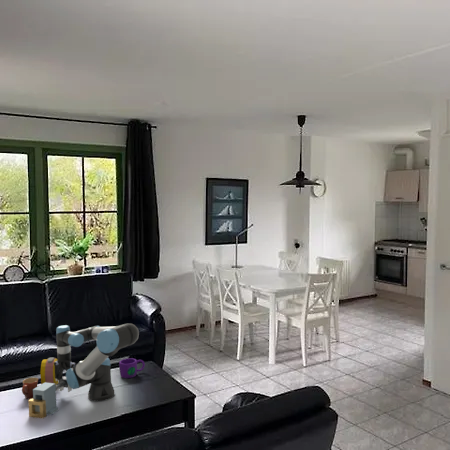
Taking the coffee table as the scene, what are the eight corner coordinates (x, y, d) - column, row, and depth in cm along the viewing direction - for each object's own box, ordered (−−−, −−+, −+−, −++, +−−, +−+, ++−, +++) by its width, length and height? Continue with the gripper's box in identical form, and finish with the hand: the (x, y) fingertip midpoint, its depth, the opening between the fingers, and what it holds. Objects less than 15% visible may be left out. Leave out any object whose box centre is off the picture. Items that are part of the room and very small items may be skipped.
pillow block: (60, 408, 266) (59, 383, 266) (49, 416, 257) (47, 391, 256) (42, 406, 270) (40, 381, 269) (30, 414, 260) (29, 389, 259)
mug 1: (29, 393, 287) (28, 377, 287) (42, 394, 286) (41, 377, 285) (16, 402, 276) (15, 385, 275) (30, 403, 274) (29, 385, 273)
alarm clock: (55, 391, 290) (54, 362, 288) (41, 392, 288) (39, 363, 287) (59, 381, 304) (58, 353, 303) (46, 383, 303) (45, 354, 302)
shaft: (71, 385, 282) (70, 377, 282) (48, 400, 262) (48, 391, 262) (64, 384, 284) (63, 376, 283) (41, 399, 263) (40, 390, 263)
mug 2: (123, 380, 304) (123, 365, 303) (117, 375, 313) (116, 360, 312) (148, 374, 314) (148, 359, 313) (141, 369, 323) (140, 354, 322)
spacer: (46, 416, 257) (45, 400, 256) (43, 418, 255) (42, 402, 254) (32, 414, 260) (31, 398, 259) (29, 416, 257) (28, 400, 257)
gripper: (81, 351, 281) (82, 389, 282) (55, 349, 286) (56, 386, 287) (73, 355, 274) (75, 394, 275) (47, 353, 279) (48, 391, 280)
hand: (65, 390), depth 281 cm, fingers closed on shaft, 5 cm apart
